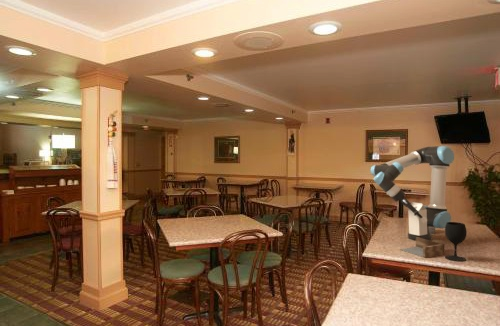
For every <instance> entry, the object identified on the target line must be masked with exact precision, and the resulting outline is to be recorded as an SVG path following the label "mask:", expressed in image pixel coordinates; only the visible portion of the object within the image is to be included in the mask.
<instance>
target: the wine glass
mask: <svg viewBox="0 0 500 326" xmlns="http://www.w3.org/2000/svg"><path fill="white" fill-rule="evenodd" d="M444 234H445V237H446V238H447V240H448V241H449V242H450V243H452V244H453V246H454V247H453V248H454V249H453V250H454V254H453V255H452V254H450V255H449V254H448V255H444V258H445V259H447V260H450V261H451V262H453V261H454V262H458V263H459V262H462V263H463V262H466V261H467V258H465V256H464V257H463V256H460V255H458V254H457V248H458V245H459V244H461V243H463V242H464V241H465V240H466V237H467V226H466V224H465V223H463V222H456V221H451V222H447V223H446V226H445V228H444Z"/></svg>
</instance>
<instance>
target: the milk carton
mask: <svg viewBox="0 0 500 326" xmlns="http://www.w3.org/2000/svg"><path fill="white" fill-rule="evenodd" d="M411 205H412V206H413V207H414V208H415V209H416V210H417V211H419V212H420V213H421V214H422V215H423V216H424V217H425V218H426V219H427V209H426V208H425V207H424V206H425V205H424V204H423V203H421V202H415V201H412V202H411ZM407 211H408V213H407V214H408V232H409V234H414V235H418V236H421V235H426V234H427V221H426V222H425V223H423V222H422V221H421V220H420V219H419V218H418V217H417V216H416V215H415V216H414V213H413V212H412V211H411V210H410V209H409V208H408V210H407ZM415 212H416V211H415Z"/></svg>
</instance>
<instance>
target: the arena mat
mask: <svg viewBox="0 0 500 326" xmlns="http://www.w3.org/2000/svg"><path fill="white" fill-rule="evenodd" d="M399 250H400V251H403V252H407V253H410V254H412V255H415V256H419V257H421V258H424V257H423V248H420V247H416V246H413V247H406V248H400V249H399Z"/></svg>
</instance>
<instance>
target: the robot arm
mask: <svg viewBox="0 0 500 326" xmlns="http://www.w3.org/2000/svg"><path fill="white" fill-rule="evenodd" d="M454 160H455V153H454V151H453V150H452V148H451V147H449V146H446V145H445V146H444V145H437V146H436V145H435V146H425V147H424V146H423V147H422V148H418V149H416V150H414V151H411V152H410V153H409V154H406V155H404V156H401V157H398V158H395V159H392V160H390V161H389V160H388V161H387V162H383V163H381V164H374V165H372V166H371V167H370V174H371V175H372V176H373V181H374V183H375V184H376V185H377V186H378V187H379V188H380V189H382V191H384V192H385V193H386V195H387V196H389V197H391V200H393V201H394V202H398V201H400V203H401V204H402V205H403V206H405V207H406V208H408V209H410V210H411V211H412V212H413V213H414V216H415V215H416V216H417V217H418V218H419V219H420V220H421V221H422V222H423V223H425V222H426V221H427V234H426V235H421V236H418V235H414V234H409V231H408V233H407V238H408V239H409V240H413V241H416V237H418V238H422V239H426V240H430V241H433V240H432V239H433V237H432V234H431V233H430V230H429V226H431V227H435V229H441V230H443V229H445V226H446V223H447V222H452V215H451V214H450V212H449V211H448V208H447V207H446V190H447V189H446V186H447V171H448V170H447V169H449V168H450V165H451V164H452V163H453V162H454ZM420 164H421V165H422V164H429V165H428V166H429V167H430V169H431V177H430V195H429V204H428V205H423V206H424V207H425V208H426V209H427V219H426V218H425V217H424V216H423V215H422V214H421V213H420V212H419V211H417V210H416V209H415V208H414V207H413V206H412V202H410V201H409V200H408V199H407V198H406V197H404V196H405V194H406V192H404V190H402V189H400V187H399V185H397V184H396V183H395V182H394V181H395V180H396V179H397V178H398V177H399V176H400V175H401V174H402V173H403V172H404V169H405V168H408V167H411V166H414V165H415V166H416V165H417V166H418V165H420ZM415 211H416V212H415Z"/></svg>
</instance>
